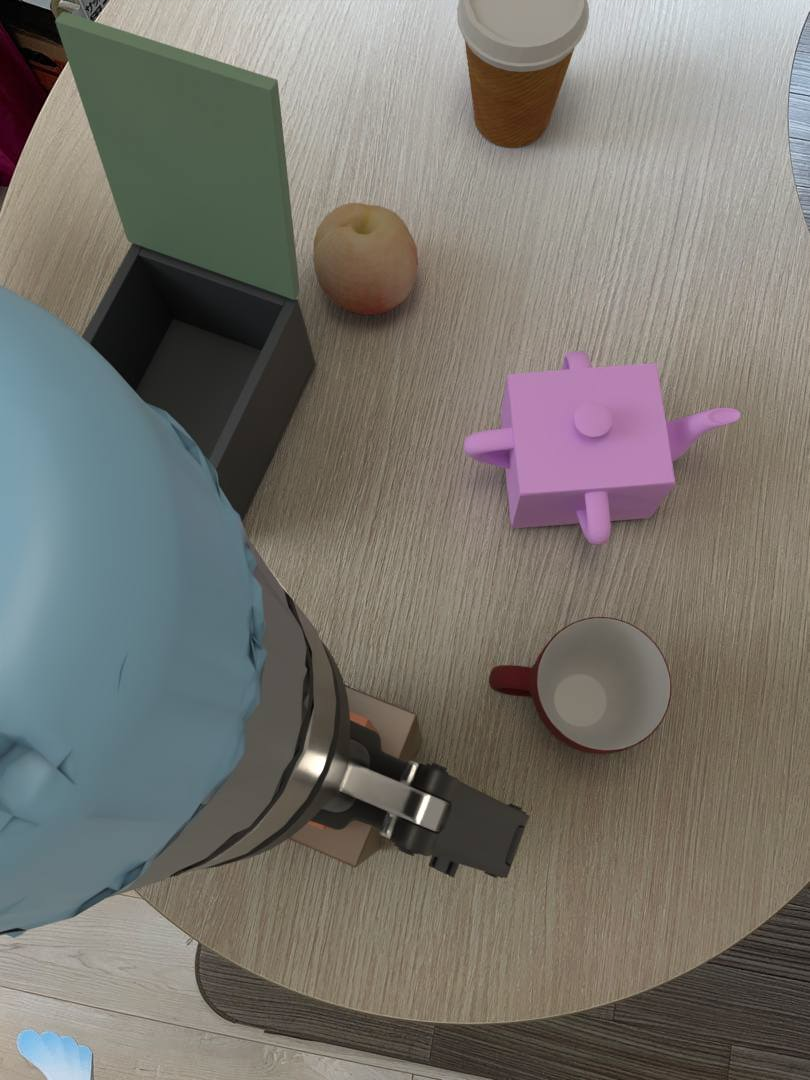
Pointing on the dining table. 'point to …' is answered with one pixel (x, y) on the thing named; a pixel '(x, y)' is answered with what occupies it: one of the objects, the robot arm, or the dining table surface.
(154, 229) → the bin lid
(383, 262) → the fruit
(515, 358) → the dining table surface
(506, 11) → the disposable coffee cup
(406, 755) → the stand
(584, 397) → the teapot
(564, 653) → the mug
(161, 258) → the bin
